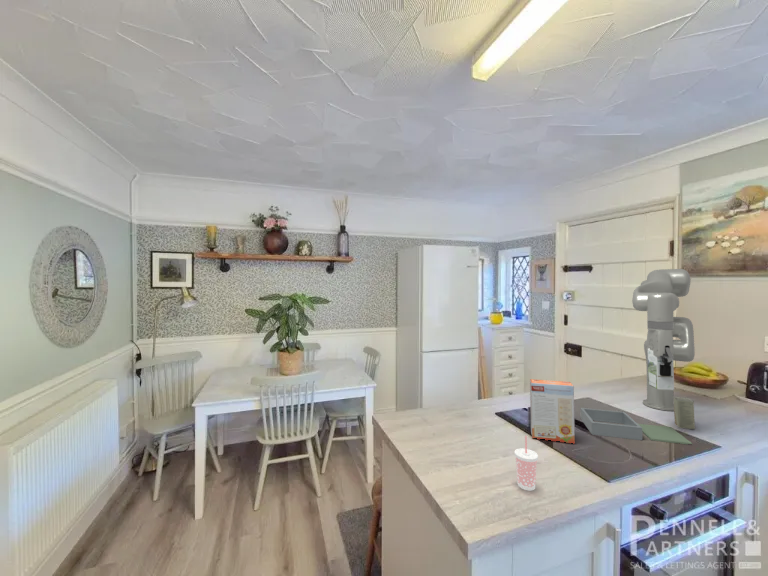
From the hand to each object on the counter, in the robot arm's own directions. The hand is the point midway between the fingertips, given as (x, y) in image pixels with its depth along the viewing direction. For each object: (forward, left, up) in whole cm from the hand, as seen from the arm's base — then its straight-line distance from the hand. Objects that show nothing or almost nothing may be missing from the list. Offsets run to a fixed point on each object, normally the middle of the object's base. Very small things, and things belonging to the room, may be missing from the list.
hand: (660, 372), depth 122 cm
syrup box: (0, 0, -6) cm, 6 cm away
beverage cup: (+50, -52, -23) cm, 76 cm away
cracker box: (+16, -40, -23) cm, 49 cm away
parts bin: (0, -17, -23) cm, 29 cm away
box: (-11, +12, -23) cm, 28 cm away
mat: (0, 0, -23) cm, 23 cm away
